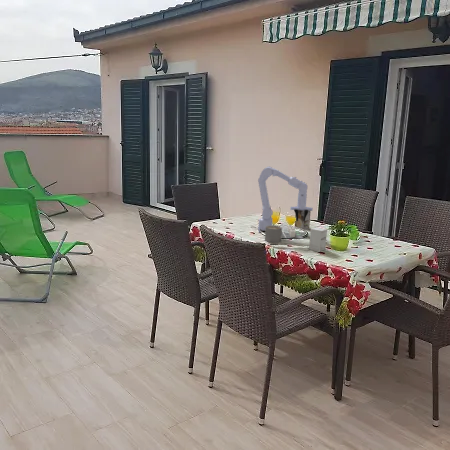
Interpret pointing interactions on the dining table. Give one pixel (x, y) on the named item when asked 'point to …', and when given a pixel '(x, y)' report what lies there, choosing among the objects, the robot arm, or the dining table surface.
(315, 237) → the supplement box
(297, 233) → the console
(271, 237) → the coffee mug
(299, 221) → the coffee box
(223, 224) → the dining table surface
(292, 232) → the slider front
